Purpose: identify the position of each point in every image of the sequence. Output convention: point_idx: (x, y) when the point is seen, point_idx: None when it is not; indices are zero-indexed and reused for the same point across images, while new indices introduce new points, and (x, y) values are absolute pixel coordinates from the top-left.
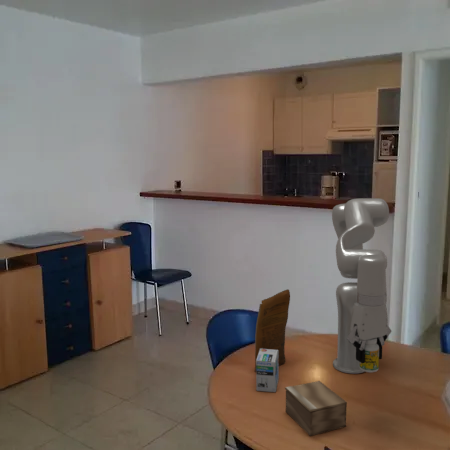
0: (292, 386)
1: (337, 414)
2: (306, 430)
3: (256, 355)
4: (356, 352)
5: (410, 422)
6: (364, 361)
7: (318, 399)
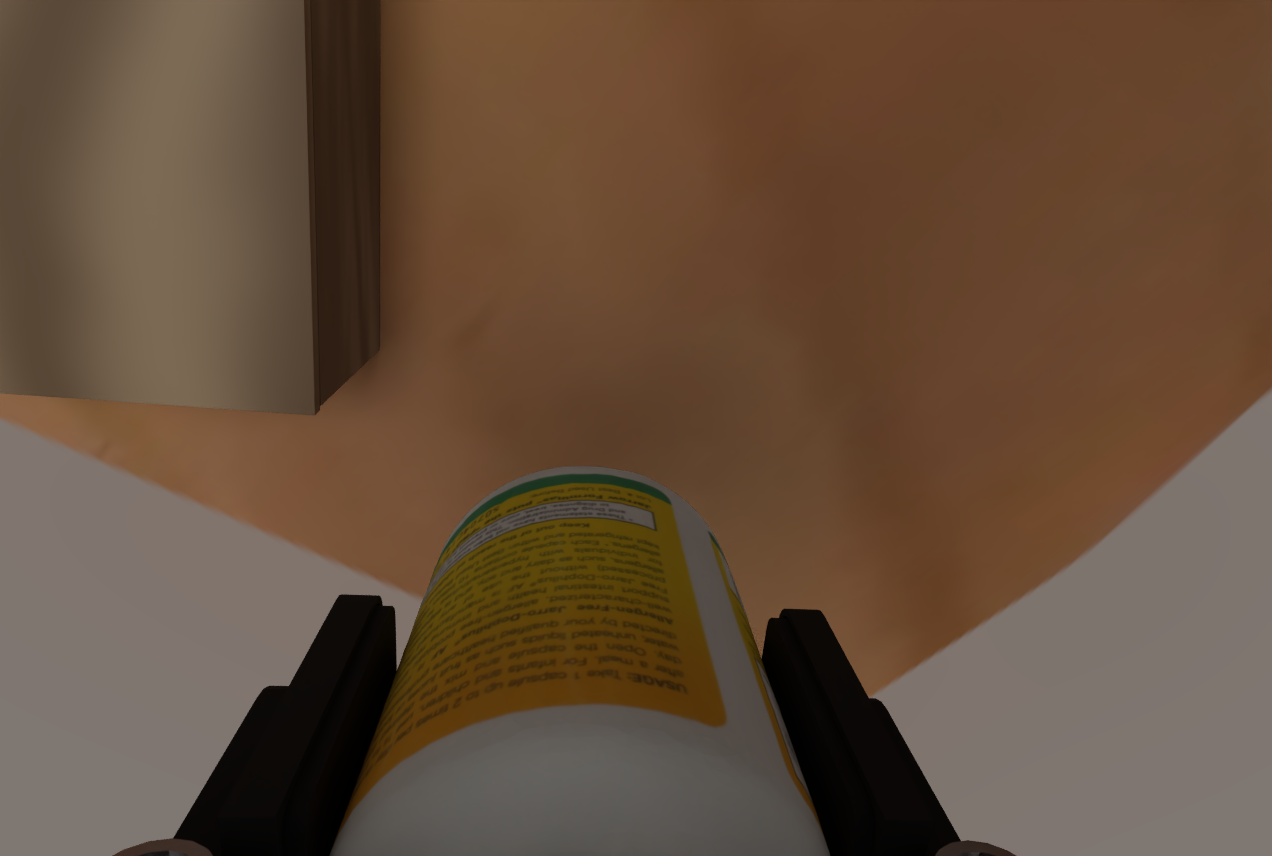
0: None
1: None
2: None
3: None
4: (213, 794)
5: (821, 519)
6: None
7: (31, 237)
